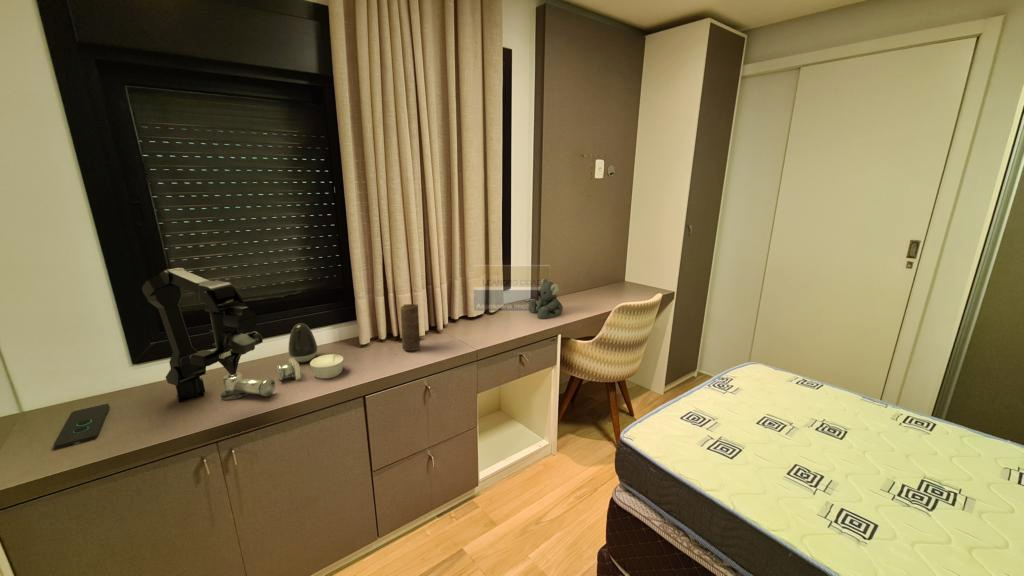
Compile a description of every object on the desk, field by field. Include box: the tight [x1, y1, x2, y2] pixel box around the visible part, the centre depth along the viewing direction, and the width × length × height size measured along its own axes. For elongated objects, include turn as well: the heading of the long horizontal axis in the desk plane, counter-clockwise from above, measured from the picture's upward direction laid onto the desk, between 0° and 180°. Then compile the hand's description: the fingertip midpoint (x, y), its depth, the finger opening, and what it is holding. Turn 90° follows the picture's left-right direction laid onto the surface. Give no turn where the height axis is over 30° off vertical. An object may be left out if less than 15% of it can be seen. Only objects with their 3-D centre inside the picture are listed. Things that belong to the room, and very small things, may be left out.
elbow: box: [222, 372, 276, 397], centre depth 128 cm, size 15×5×6 cm, turn 84°
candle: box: [400, 303, 421, 351], centre depth 165 cm, size 8×7×20 cm
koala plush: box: [528, 277, 564, 320], centre depth 216 cm, size 17×18×20 cm
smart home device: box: [53, 403, 111, 450], centre depth 111 cm, size 8×2×20 cm
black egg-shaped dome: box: [287, 323, 318, 363], centre depth 153 cm, size 10×10×15 cm
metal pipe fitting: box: [220, 357, 302, 401], centre depth 134 cm, size 23×8×6 cm, turn 134°
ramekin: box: [309, 353, 345, 380], centre depth 144 cm, size 11×11×5 cm
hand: (233, 374), depth 118 cm, fingers closed
